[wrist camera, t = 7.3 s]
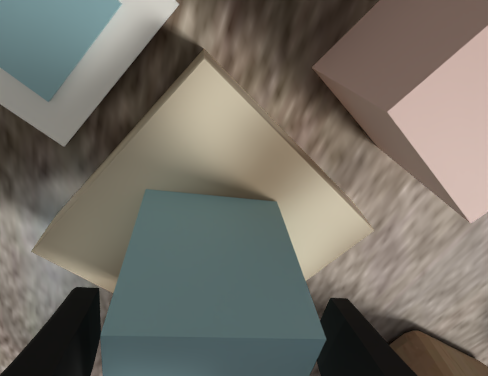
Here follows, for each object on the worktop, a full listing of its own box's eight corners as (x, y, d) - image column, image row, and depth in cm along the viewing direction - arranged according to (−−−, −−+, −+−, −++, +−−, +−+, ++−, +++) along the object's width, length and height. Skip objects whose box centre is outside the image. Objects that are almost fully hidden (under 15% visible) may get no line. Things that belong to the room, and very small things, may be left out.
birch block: (347, 194, 17) (374, 230, 14) (215, 300, 19) (217, 346, 17) (203, 46, 12) (204, 58, 10) (59, 209, 15) (31, 251, 13)
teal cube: (277, 201, 13) (326, 339, 8) (253, 291, 15) (278, 441, 10) (145, 189, 12) (100, 335, 7) (142, 286, 14) (107, 449, 9)
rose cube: (475, 64, 14) (645, 104, 8) (377, 146, 15) (470, 223, 10) (420, -41, 11) (602, -74, 6) (311, 66, 13) (386, 111, 8)
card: (179, 4, 11) (178, 4, 11) (66, 144, 13) (62, 149, 13) (-39, -225, 8) (-53, -237, 8) (-143, 2, 10) (-159, 2, 10)
